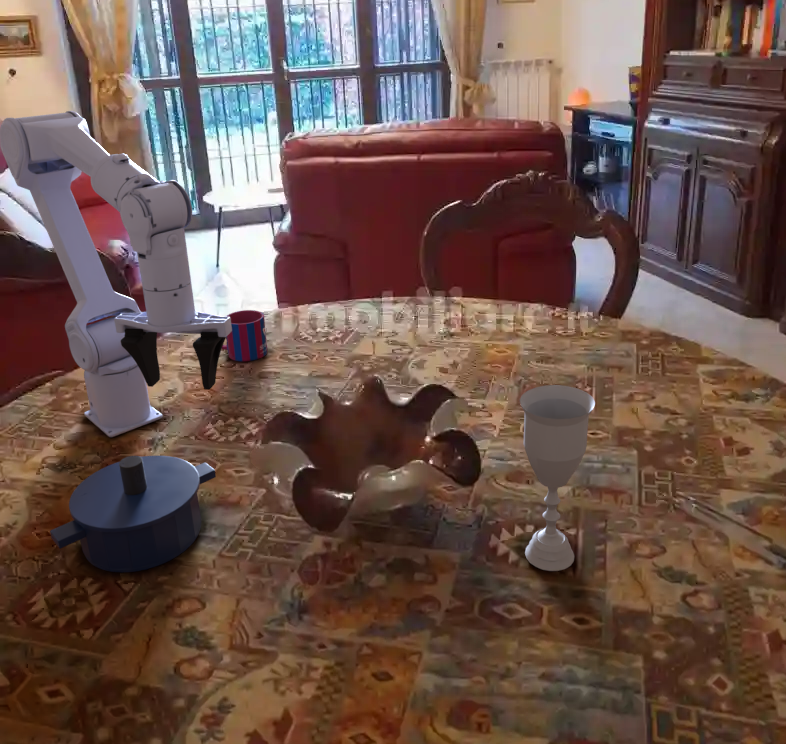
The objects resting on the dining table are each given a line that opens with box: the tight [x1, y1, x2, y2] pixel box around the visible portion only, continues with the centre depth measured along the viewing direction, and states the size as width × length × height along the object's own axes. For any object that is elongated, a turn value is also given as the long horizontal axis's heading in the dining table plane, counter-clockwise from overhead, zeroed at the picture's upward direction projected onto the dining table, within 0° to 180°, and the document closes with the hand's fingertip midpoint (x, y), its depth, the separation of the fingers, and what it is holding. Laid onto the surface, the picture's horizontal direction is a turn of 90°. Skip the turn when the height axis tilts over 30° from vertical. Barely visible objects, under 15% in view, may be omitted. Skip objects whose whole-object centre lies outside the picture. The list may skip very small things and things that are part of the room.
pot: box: [49, 462, 217, 573], centre depth 83 cm, size 13×18×5 cm
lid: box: [68, 455, 201, 532], centre depth 81 cm, size 14×14×5 cm
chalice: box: [519, 384, 596, 572], centre depth 75 cm, size 7×7×18 cm
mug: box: [221, 309, 268, 362], centre depth 128 cm, size 7×10×7 cm
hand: (181, 384), depth 95 cm, fingers open, 7 cm apart
